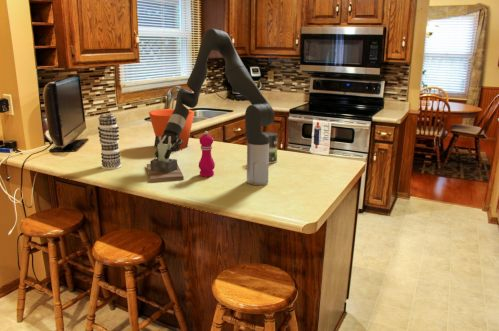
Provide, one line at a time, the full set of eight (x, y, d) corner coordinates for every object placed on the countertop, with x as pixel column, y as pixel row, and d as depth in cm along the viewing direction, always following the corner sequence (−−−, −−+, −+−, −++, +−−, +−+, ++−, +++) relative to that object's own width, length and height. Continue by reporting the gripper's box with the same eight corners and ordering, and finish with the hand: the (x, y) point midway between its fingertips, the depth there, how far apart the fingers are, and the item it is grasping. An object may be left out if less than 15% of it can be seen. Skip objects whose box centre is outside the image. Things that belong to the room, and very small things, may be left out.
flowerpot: (176, 154, 223) (174, 117, 218) (141, 148, 235) (138, 113, 230) (203, 145, 244) (203, 111, 239) (170, 140, 256) (169, 107, 251)
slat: (169, 167, 190) (168, 144, 187) (167, 169, 189) (166, 145, 185) (161, 166, 192) (160, 143, 189) (158, 167, 190) (157, 144, 187)
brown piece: (176, 164, 204) (176, 152, 202) (183, 179, 182) (183, 166, 180) (146, 166, 200) (146, 154, 198) (150, 182, 178) (149, 168, 176)
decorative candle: (113, 170, 193) (109, 116, 187) (97, 168, 197) (92, 115, 190) (125, 165, 202) (122, 113, 195) (109, 163, 205) (105, 112, 198)
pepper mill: (200, 172, 192) (199, 129, 187) (215, 172, 192) (215, 129, 186) (197, 177, 185) (196, 132, 180) (214, 177, 185) (213, 133, 180)
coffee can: (278, 159, 217) (279, 132, 213) (275, 164, 207) (276, 136, 203) (258, 157, 219) (259, 131, 215) (254, 163, 209) (255, 135, 205)
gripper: (158, 120, 194) (143, 151, 187) (185, 122, 189) (171, 155, 181) (165, 129, 200) (151, 160, 193) (191, 132, 195) (178, 163, 187)
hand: (161, 157), depth 187 cm, fingers closed on slat, 4 cm apart
